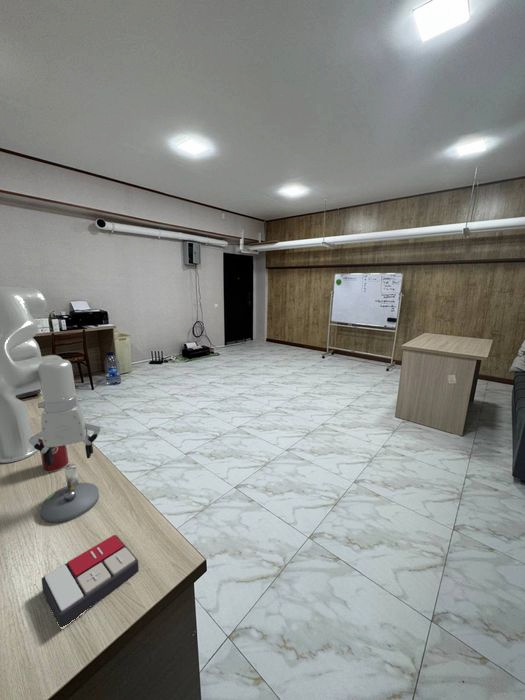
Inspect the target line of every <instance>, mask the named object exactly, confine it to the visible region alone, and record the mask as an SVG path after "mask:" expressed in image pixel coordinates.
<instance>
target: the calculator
mask: <svg viewBox="0 0 525 700" xmlns="http://www.w3.org/2000/svg"><path fill="white" fill-rule="evenodd" d="M137 573H139V560H138V558H137V557H136V556H135V555H134V554H133V552H132V551H131V550H130V549H129V548H128V547H127V545H126V544H125V543H124V542H123V541H122V540H121V538H120V537H119V536H118V535H117V534H114V535H112V536H110V537H108V538H106V539H104V540H103V541H101V542H99V543H98V544H95V546H93V547H91V548H89V549H87V550H86V551H84V552H82V553H81V554H78V555H77V556H75V557H74V558H72V559H70V560H69V561H68V562H65V564H62V565H61V566H60V567H58V568H56V569H55V570H53V571H51V572H49V573H47V574H46V575H44V576H43V577H42V578H41V585H42V586H41V587H42V594H43V593H44V594H43V596H44V595H45V596H44V598H45V597H46V598H45V600H46V599H47V600H46V602H48V603H47V604H49V605H48V607H49V606H50V607H49V609H50V608H51V609H50V611H51V610H52V611H51V613H52V612H53V613H52V615H53V614H54V615H53V617H54V616H55V618H56V620H57V622H58V624H59V626H60V627H63V626H65V625H67V624H69V623H70V622H71V621H72V620H74V619H76V618H77V617H78V616H79V615H80V614H81V613H83V612H84V611H85V610H87V609H88V608H89V607H90V606H92V605H93V604H95V603H96V602H97V603H99V602H100V601H101V600H103V599H104V598H106V597H107V596H108V595H110V594H111V593H113V592H114V591H115V590H117V589H118V588H119V587H120V586H122V585H123V584H125V583H126V582H127V581H128V580H130V579H131V578H132V577H133V576H134V575H136V574H137ZM98 601H99V602H98ZM97 603H96V604H97ZM96 604H95V605H96ZM93 606H94V605H93ZM93 606H92V607H93ZM90 608H91V607H90ZM90 608H89V609H90ZM89 609H88V610H89ZM88 610H87V611H88ZM55 618H54V619H55ZM56 620H55V621H56ZM76 620H77V619H76ZM57 622H56V623H57ZM58 624H57V625H58ZM59 626H58V627H59Z"/></svg>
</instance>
